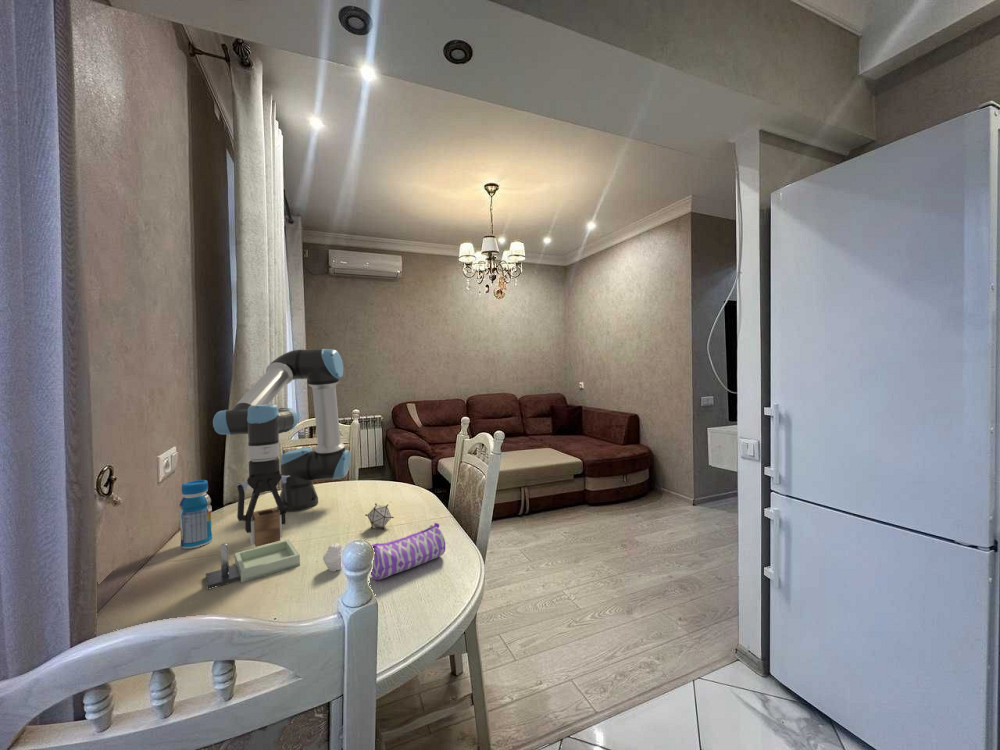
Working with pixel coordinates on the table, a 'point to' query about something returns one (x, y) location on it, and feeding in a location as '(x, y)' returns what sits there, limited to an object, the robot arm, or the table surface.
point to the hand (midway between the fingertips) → (266, 539)
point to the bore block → (266, 526)
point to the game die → (379, 516)
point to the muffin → (333, 557)
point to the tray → (266, 560)
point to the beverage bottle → (195, 515)
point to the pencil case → (407, 552)
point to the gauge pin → (223, 571)
